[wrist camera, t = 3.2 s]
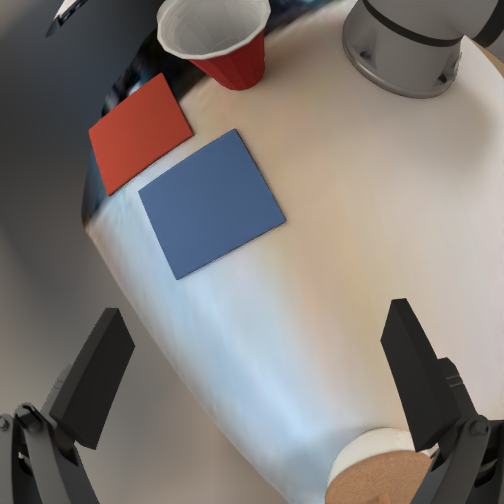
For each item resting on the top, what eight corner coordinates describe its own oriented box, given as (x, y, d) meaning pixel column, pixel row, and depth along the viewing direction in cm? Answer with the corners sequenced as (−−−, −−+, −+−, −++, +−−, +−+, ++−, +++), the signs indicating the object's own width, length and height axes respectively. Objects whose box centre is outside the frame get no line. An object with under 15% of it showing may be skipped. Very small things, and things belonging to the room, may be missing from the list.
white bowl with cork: (347, 404, 29) (354, 464, 18) (435, 415, 26) (464, 466, 16) (313, 473, 30) (306, 531, 19) (394, 481, 27) (404, 534, 17)
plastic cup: (235, 127, 31) (193, 75, 19) (185, 78, 32) (138, 28, 21) (305, 72, 29) (295, 4, 17) (248, 30, 30) (222, -30, 19)
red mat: (90, 131, 36) (88, 130, 36) (162, 73, 33) (161, 72, 33) (109, 196, 35) (107, 195, 35) (194, 135, 32) (192, 134, 32)
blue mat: (139, 191, 34) (137, 191, 34) (235, 129, 31) (234, 128, 31) (177, 279, 33) (176, 279, 33) (286, 221, 30) (285, 220, 30)
